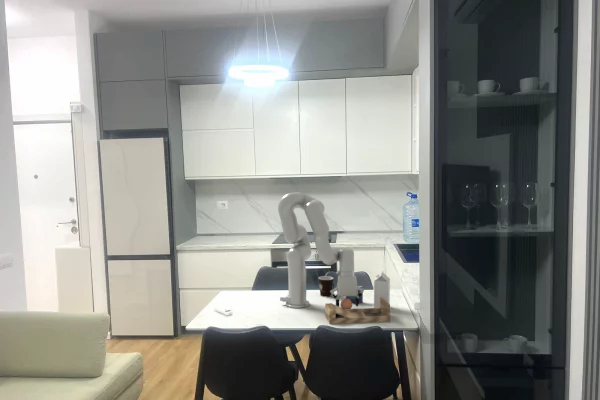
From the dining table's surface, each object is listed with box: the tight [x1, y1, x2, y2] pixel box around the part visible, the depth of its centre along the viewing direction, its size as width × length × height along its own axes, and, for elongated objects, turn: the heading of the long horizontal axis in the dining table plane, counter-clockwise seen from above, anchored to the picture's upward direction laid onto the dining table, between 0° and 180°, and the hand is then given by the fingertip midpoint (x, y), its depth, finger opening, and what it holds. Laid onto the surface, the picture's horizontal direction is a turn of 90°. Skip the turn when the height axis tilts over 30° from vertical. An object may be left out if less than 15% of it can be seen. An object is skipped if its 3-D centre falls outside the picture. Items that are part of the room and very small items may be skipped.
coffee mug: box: [318, 275, 335, 298], centre depth 237 cm, size 12×9×10 cm
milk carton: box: [373, 270, 391, 308], centre depth 215 cm, size 7×7×19 cm
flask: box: [345, 285, 364, 304], centre depth 225 cm, size 9×3×11 cm, turn 87°
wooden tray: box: [324, 297, 391, 325], centre depth 201 cm, size 29×13×8 cm, turn 96°
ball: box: [340, 297, 353, 309], centre depth 212 cm, size 6×6×6 cm
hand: (347, 306), depth 212 cm, fingers open, 9 cm apart
